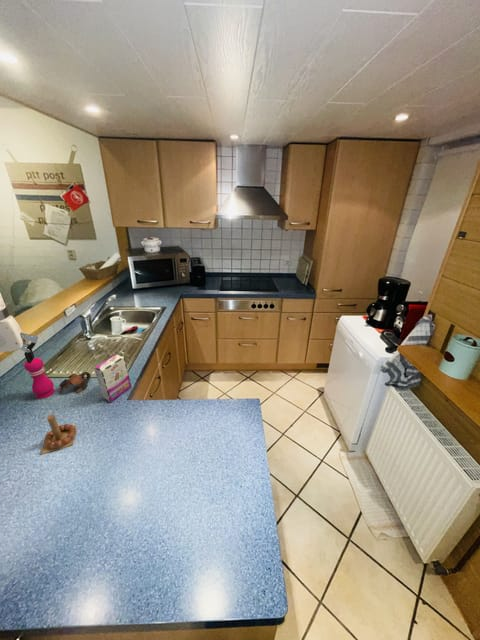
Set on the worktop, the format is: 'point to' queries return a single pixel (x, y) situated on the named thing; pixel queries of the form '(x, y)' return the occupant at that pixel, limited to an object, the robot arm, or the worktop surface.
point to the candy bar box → (113, 377)
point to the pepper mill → (39, 379)
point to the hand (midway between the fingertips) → (12, 364)
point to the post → (56, 435)
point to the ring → (53, 445)
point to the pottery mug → (76, 381)
